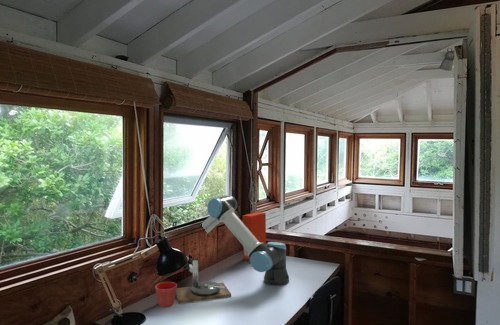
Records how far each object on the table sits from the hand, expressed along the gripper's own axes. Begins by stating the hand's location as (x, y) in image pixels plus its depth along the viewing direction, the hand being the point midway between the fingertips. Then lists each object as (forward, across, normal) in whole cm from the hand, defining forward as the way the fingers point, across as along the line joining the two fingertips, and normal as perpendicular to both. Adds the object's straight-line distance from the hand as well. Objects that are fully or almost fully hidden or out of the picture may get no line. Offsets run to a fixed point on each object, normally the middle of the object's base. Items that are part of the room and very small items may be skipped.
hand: (191, 269), depth 212 cm
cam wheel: (+13, -7, -8) cm, 17 cm away
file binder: (-43, -53, -10) cm, 69 cm away
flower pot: (+19, +16, -10) cm, 27 cm away
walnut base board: (+12, -4, -10) cm, 16 cm away
